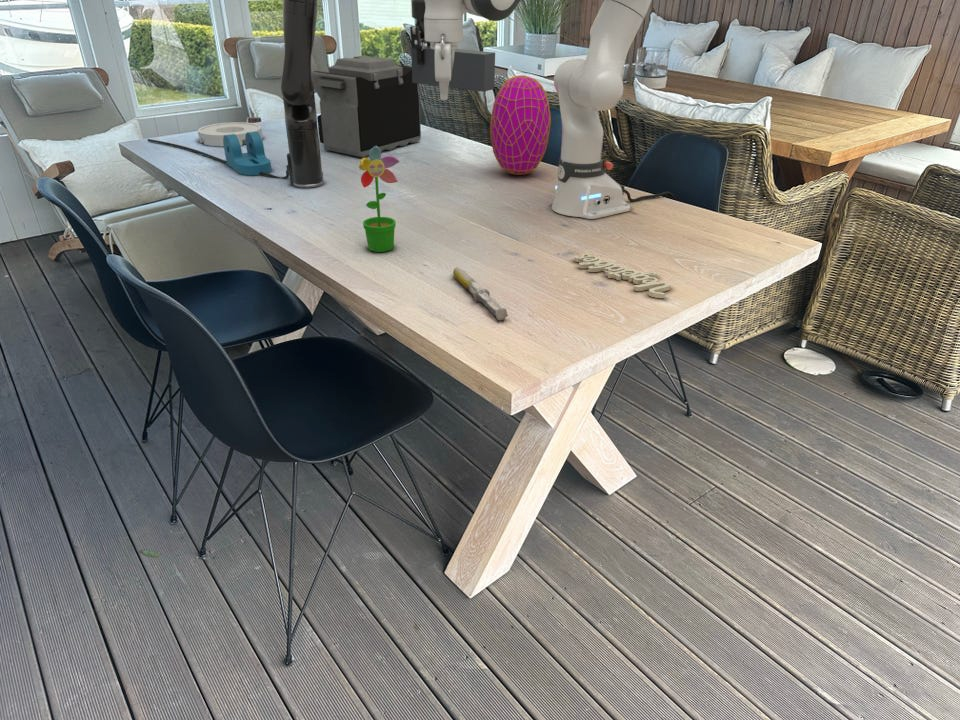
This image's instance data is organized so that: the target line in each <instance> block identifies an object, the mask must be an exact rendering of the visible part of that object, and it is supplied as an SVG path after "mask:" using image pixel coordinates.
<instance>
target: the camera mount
mask: <svg viewBox="0 0 960 720" xmlns="http://www.w3.org/2000/svg"><path fill="white" fill-rule="evenodd" d="M245 139H246V144H245V146H246V152H243V151H242V150H243V149H242V145H240V142H239V140H238V138H237V136H236V135H235V134H230V135H224V137H223V144H224V146H223V149H224V150H223V151H224V156H225V161H226V162H227V164H226V165H227V166H228V167H230V168H231V169H232V170H234V171H236V172H237V173H238V174H239V175H244V176H260V174H259V173H260V172H263V173H268V174H270V173H271V172H272V164H271V159H270V158H268V157H267V156H266V153H265V145H264V141H263V138H261V136H260V134H259V133H258V132H257V131H255V132H247V133H246V137H245Z"/></svg>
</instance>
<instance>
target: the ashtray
mask: <svg viewBox="0 0 960 720" xmlns="http://www.w3.org/2000/svg"><path fill="white" fill-rule="evenodd" d="M255 131H257V132H258V133H259V134H260V136H261V138H262V139H264V137H263V130H262V126H261V125H260V124H257V123H254V122H242V121H237V122H236V121H235V122H234V121H231V122H219V123H213V124H208V125H204V126H202V127H199V128H198V129H197V134H198V138H199V143H200V144H204V145H205V146H208V147H209V146H210V147H224V144H223V137H224V135H230V134H235V135H236V136H237V138H238V140H239V142H240V146H243V145H246V139H245V137H246V133H247V132H255Z"/></svg>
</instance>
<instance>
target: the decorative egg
mask: <svg viewBox="0 0 960 720" xmlns="http://www.w3.org/2000/svg"><path fill="white" fill-rule="evenodd" d="M547 95H548V94H547V92H546V91H545V89H544V87H543V85H542V84H541V83H540V82H539V81H538V80H537V79H536V78H533V77H531V76H528V75H516V76H512V77H509V78H508V79H507V80H506V81H504V82H503V84H502V86H501V87H500V89H499V90H498V92H497V94H496V96H495V98H494V101H493V104H492V109H491V116H490V122H489V123H490V124H489V134H490V135H489V136H490V143H491V147H492V148H491V149H492V152H493V156H494V158H495V160H496V161H497V163H498V164H499V166H500V168H501V169H502V170H504V171H505V172H507V173H508V174H511V175H515V176H523V175H527V174H529V173H532V172H533V171H535V170H536V169H537V167H539V165H540V163H541V161H542V160H543V158H544V157H545V156H544V155H545V153H546V151H547V147H548V143H549V138H550V132H551V131H550V130H551V125H552V118H551V115H552V114H551V108H550V102H549V98H548V96H547Z"/></svg>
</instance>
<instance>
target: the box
mask: <svg viewBox="0 0 960 720" xmlns="http://www.w3.org/2000/svg"><path fill="white" fill-rule="evenodd" d="M410 52H411V53H410V55H411V56H410V59H411V60H410V61H411V67H412V83H418V85H427V86H434V87H439V81H436V80H435V50H434V49H431V48H430V46H427V45H425V47H424V65H418V64H417V52H416V50H415V49H412V46H411V47H410ZM495 73H496V52H495V51H483V50H482V51H481V50H472V49H463V48H462V49H461V48H457V49H455V53H454V63H453V69H452V76H451V81H449V89H450V88H451V89H458V90H466V91H474V92H481V93H482V92H483V93H484V92H485V93H486V92H488V91H492V90H495V82H496V81H495V79H496V78H495V77H496V76H495V75H496V74H495Z"/></svg>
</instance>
